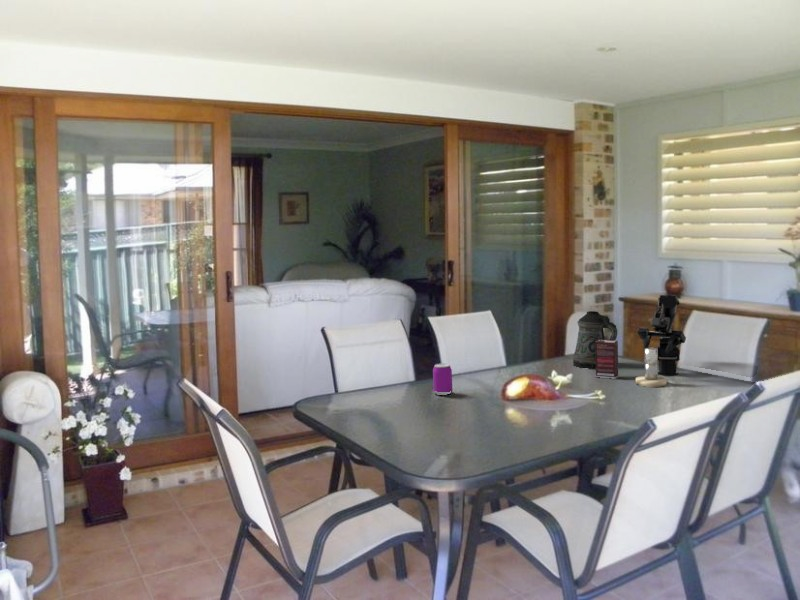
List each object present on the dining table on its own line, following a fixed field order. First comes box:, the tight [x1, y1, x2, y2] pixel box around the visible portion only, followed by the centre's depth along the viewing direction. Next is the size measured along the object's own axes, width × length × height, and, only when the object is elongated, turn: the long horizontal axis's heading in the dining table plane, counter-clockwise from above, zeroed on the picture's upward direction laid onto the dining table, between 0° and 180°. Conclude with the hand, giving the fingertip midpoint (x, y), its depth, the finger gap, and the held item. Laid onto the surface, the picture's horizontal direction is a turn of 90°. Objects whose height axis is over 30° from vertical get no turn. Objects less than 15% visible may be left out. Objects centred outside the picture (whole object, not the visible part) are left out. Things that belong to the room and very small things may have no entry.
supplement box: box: [595, 339, 619, 380], centre depth 312 cm, size 9×5×16 cm, turn 58°
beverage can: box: [432, 363, 453, 392], centre depth 296 cm, size 8×8×12 cm
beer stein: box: [572, 310, 618, 370], centre depth 335 cm, size 16×19×25 cm
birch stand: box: [635, 375, 668, 388], centre depth 299 cm, size 12×12×2 cm
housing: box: [644, 347, 659, 380], centre depth 298 cm, size 5×5×12 cm
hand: (655, 352), depth 299 cm, fingers open, 9 cm apart
